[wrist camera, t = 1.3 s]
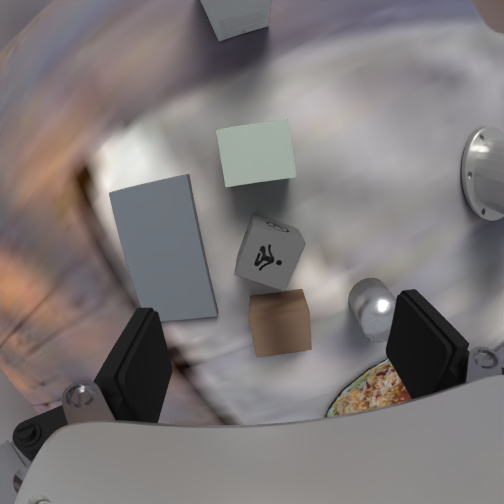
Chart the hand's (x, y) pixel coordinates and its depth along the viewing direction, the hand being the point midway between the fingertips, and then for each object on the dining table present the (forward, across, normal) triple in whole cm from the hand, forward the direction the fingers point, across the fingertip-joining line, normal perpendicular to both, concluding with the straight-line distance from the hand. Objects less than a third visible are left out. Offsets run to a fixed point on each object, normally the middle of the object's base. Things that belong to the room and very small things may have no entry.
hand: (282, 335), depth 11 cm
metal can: (+20, -13, +10) cm, 26 cm away
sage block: (+21, 0, -6) cm, 22 cm away
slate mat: (+21, +11, +4) cm, 24 cm away
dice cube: (+21, -1, +3) cm, 21 cm away
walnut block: (+21, -2, +11) cm, 24 cm away
